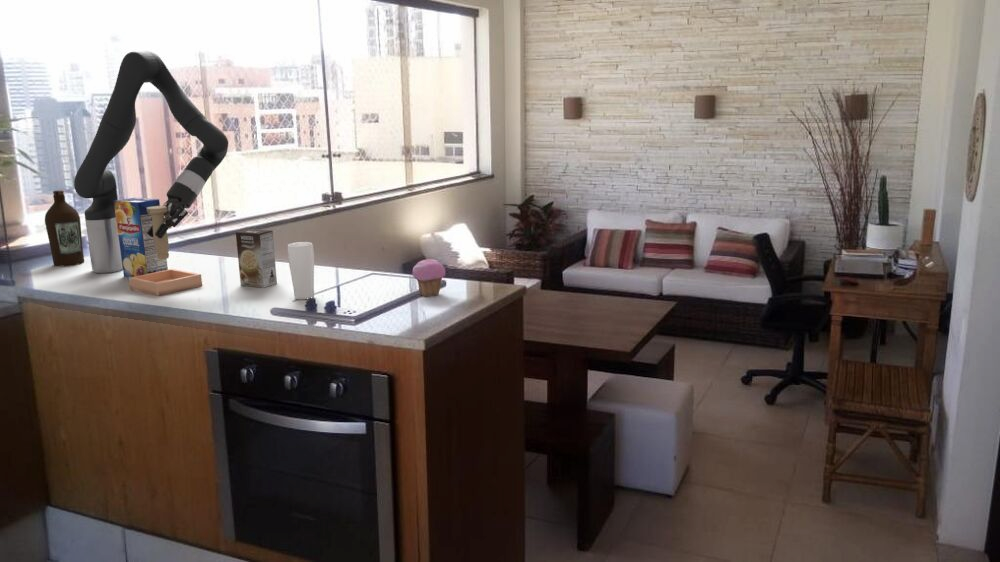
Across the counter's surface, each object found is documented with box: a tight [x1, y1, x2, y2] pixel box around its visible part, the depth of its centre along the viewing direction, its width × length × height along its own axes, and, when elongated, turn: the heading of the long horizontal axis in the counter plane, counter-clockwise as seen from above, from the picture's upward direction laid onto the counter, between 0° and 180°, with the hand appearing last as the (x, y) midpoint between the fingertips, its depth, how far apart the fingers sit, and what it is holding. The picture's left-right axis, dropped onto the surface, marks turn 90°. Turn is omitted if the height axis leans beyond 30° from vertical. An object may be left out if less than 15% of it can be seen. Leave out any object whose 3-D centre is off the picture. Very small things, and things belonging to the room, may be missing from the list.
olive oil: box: [44, 189, 85, 267], centre depth 279 cm, size 11×11×25 cm
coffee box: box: [235, 228, 278, 289], centre depth 241 cm, size 9×6×16 cm
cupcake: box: [412, 258, 446, 297], centre depth 223 cm, size 9×9×10 cm
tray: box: [128, 268, 203, 297], centre depth 241 cm, size 15×14×4 cm
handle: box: [147, 205, 170, 260], centre depth 238 cm, size 5×6×15 cm
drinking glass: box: [287, 241, 315, 301], centre depth 223 cm, size 7×7×15 cm
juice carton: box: [114, 197, 169, 278], centre depth 256 cm, size 12×8×24 cm, turn 59°
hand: (153, 235), depth 236 cm, fingers closed on handle, 3 cm apart
